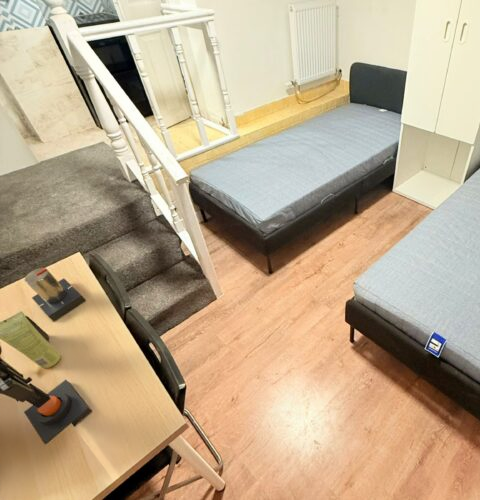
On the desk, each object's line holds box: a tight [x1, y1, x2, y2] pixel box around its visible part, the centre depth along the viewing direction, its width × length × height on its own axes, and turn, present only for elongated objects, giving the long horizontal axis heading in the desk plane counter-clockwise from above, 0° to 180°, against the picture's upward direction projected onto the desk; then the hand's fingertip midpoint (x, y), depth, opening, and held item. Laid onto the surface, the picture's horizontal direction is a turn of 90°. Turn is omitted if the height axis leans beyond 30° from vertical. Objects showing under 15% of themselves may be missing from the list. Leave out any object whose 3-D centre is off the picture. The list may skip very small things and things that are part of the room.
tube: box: [0, 311, 61, 369], centre depth 87 cm, size 6×5×20 cm
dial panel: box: [31, 278, 86, 322], centre depth 107 cm, size 12×10×3 cm
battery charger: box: [25, 315, 49, 343], centre depth 93 cm, size 7×4×11 cm, turn 27°
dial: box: [24, 267, 67, 304], centre depth 102 cm, size 6×6×10 cm
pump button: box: [37, 396, 61, 416], centre depth 80 cm, size 4×4×2 cm
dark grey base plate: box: [23, 379, 93, 445], centre depth 82 cm, size 12×10×4 cm
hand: (43, 401), depth 78 cm, fingers closed
